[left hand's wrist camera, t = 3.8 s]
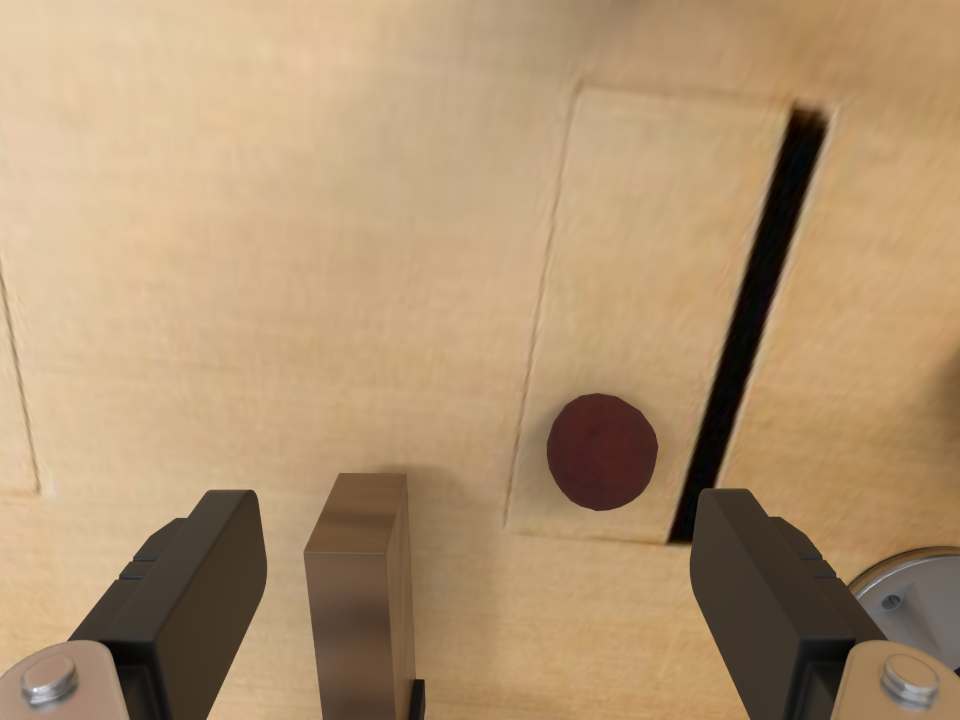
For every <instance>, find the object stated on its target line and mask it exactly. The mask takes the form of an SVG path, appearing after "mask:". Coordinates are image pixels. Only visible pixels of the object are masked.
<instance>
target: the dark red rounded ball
mask: <svg viewBox="0 0 960 720" xmlns="http://www.w3.org/2000/svg"><path fill="white" fill-rule="evenodd" d="M657 451H658V443H657V439H656V434H655V432H654V430H653V428H652V426H651V425H650V424H649V422H648V421H647V419H646V418H645V417H644V415H643V414H642V413H641V411H639V410H638V409H636V408H634V407H633V406H631V405H629V404H628V403H626V402H624V401H623V400H621V399H619V398H618V397H614V396H609V395H604V394H599V393H596V394H590V395H583V396H580V397H578V398H576V399H575V400H573V401H572V402H570V403H568V404H567V405H566V406H565V407H564V409H563V410H562V411H561V413H560V414H559V416H558V417H557V418H556V420H555V421H554V423H553V426H552V429H551V432H550V435H549V438H548V442H547V458H548V463H549V469H550V471H551V473H552V475H553V477H554V479H555V481H556V483H557V485H558V486H559V488H560V489H561V490H562V492H563V493H564V494H565V495H566V496H567V497H568V498H569V499H570V500H571V501H572V502H574V503H576V504H578V505H579V506H582V507H585V508H589V509H593V510H595V511H604V510H611V509H615V508H619V507H621V506H623V505H625V504H627V503H629V502H631V501H633V500H634V499H635V498H636V497H638V496H639V495H640V494H641V493H642V492H643V491H644V489H645V488H646V486H647V485H648V484H649V482H650V479H651V477H652V474H653V471H654V467H655V463H656V457H657Z"/></svg>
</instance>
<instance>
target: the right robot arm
mask: <svg viewBox="0 0 960 720" xmlns="http://www.w3.org/2000/svg"><path fill="white" fill-rule="evenodd" d="M848 589H849V590H850V592H851V593H852V594H853V596H854V597H855V598H856V599H857V601H858V602H859V603H860V604H861V606H862V607H863V608H864V610H865V611H866V612H867V613H868V615H869V616H870V617H871V618H872V620H873V621H874V622H875V624H876V625H877V626H878V627H879V629H880V630H881V631H882V632H883V634H884V635H885V636H886V638H887V639H888V640H889V641H892V642H897V643H901V644H904V645H907V646H910V647H913V648H916V649H918V650H920V651H922V652H925V653H926V654H928V655H930V656H932V657H934V658H935V659H937V660H939V661H940V662H942V663H943V664H945V665H946V666H947V667H948V668H950V669H951V670H952V671H953V672H955V673H956V674H957V675H958V676H959V677H960V548H955V547H933V548H925V549H919V550H915V551H910V552H907V553H904V554H901V555H898V556H895V557H893V558H890V559H888V560H886V561H884V562H882V563H880V564H878V565H877V566H875V567H873V568H872V569H870V570H869V571H867V572H866V573H864V574H863V575H862V576H861V577H859V578H858V579H857V580H856V581H855V582H854V583H853V584H851V585H850V586H849V588H848ZM424 714H425V681H424V679H415V681H414V688H413V694H412V701H411V708H410V714H409V720H424Z"/></svg>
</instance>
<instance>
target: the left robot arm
mask: <svg viewBox="0 0 960 720" xmlns="http://www.w3.org/2000/svg"><path fill="white" fill-rule="evenodd" d="M266 578H267V559H266V552H265V545H264V538H263V531H262V524H261V517H260V510H259V503H258V498H257V495H256V493H255V492H254V491H253V490H209V491H208V492H206V494H205V495H204V496H203V497H202V499H201V500H200V501H199V503H198V504H197V506H196V507H195V508H194V510H193V511H192V512H191V514H190V515H189V516H188V518H176V519H174V520H173V521H171V522H170V523H168V524H167V525H166V526H164V527H163V528H161V529H160V530H158V531H157V532H155V533H154V534H153V535H151V536H150V537H149V538H148V539H147V541H146V542H145V543H144V545H143V546H142V547H141V548H140V550H139V551H138V552H137V553H136V555H135V556H134V557H133V562H129V563H128V565H127V566H126V567H125V569H124V570H123V571H122V572H121V574H120V575H119V580H115V581H114V582H113V584H112V585H111V586H110V587H109V589H108V590H107V591H106V592H105V594H104V595H103V596H102V598H101V599H100V600H99V601H98V603H97V604H96V605H95V606H94V608H93V609H92V610H91V611H90V613H89V614H88V615H87V616H86V618H85V619H84V620H83V622H82V623H81V624H80V625H79V627H78V628H77V629H76V630H75V632H74V633H73V634H72V635H71V637H70V638H69V639H68V640H67V642H63V643H59V644H56V645H53V646H50V647H47V648H44V649H42V650H40V651H38V652H35V653H34V654H32V655H30V656H28V657H26V658H25V659H23V660H21V661H20V662H18V663H17V664H15V665H14V666H13V667H12V668H10V669H9V670H8V671H7V672H5V673H4V674H3V675H2V676H1V677H0V720H206V719H207V717H208V715H209V712H210V710H211V708H212V706H213V704H214V701H215V699H216V697H217V695H218V693H219V690H220V688H221V686H222V684H223V682H224V680H225V677H226V675H227V673H228V671H229V669H230V666H231V664H232V662H233V660H234V658H235V655H236V653H237V651H238V649H239V647H240V644H241V642H242V640H243V638H244V636H245V634H246V631H247V629H248V627H249V625H250V623H251V620H252V618H253V616H254V614H255V612H256V609H257V607H258V605H259V603H260V601H261V598H262V596H263V593H264V589H265V584H266ZM690 578H691V584H692V589H693V592H694V595H695V598H696V600H697V602H698V604H699V607H700V609H701V611H702V613H703V615H704V618H705V620H706V622H707V624H708V627H709V629H710V631H711V633H712V635H713V638H714V640H715V642H716V644H717V646H718V649H719V651H720V653H721V655H722V658H723V660H724V662H725V664H726V666H727V669H728V671H729V673H730V675H731V678H732V680H733V682H734V684H735V686H736V689H737V691H738V693H739V695H740V697H741V700H742V702H743V704H744V706H745V709H746V711H747V713H748V715H749V717H750V720H960V677H959V676H958V675H957V674H956V673H955V672H953V671H952V670H951V669H950V668H948V667H947V666H946V665H945V664H943V663H942V662H940V661H939V660H937V659H935V658H934V657H932V656H930V655H928V654H926V653H925V652H922V651H920V650H918V649H916V648H913V647H910V646H907V645H904V644H901V643H897V642H892V641H889V640H888V639H887V638H886V636H885V635H884V634H883V632H882V631H881V630H880V629H879V627H878V626H877V625H876V624H875V622H874V621H873V620H872V618H871V617H870V616H869V615H868V613H867V612H866V611H865V610H864V608H863V607H862V606H861V604H860V603H859V602H858V601H857V599H856V598H855V597H854V596H853V594H852V593H851V592H850V590H849V589H848V588H847V587H846V585H845V584H844V583H843V581H842V580H841V579H840V578H837V577H836V573H835V571H834V570H833V569H832V567H831V566H830V565H829V564H828V562H827V561H826V560H823V559H822V555H821V553H820V552H819V551H818V550H817V548H816V547H815V546H814V545H813V543H812V542H811V541H810V539H809V538H808V537H807V536H806V535H805V534H804V533H802V532H801V531H800V530H798V529H797V528H795V527H794V526H792V525H791V524H790V523H788V522H787V521H785V520H784V519H782V518H781V517H769V516H768V515H767V514H766V512H765V511H764V510H763V508H762V507H761V505H760V504H759V503H758V501H757V500H756V499H755V497H754V496H753V494H752V493H751V492H750V491H749V490H748V489H703V490H702V491H701V493H700V496H699V500H698V507H697V514H696V521H695V528H694V535H693V542H692V549H691V556H690Z"/></svg>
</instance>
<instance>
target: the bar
mask: <svg viewBox="0 0 960 720" xmlns="http://www.w3.org/2000/svg"><path fill="white" fill-rule="evenodd" d="M304 560H305V569H306V578H307V586H308V595H309V604H310V612H311V621H312V630H313V638H314V647H315V656H316V664H317V673H318V682H319V691H320V699H321V708H322V717H323V720H409V714H410V708H411V701H412V694H413V688H414V681H415V679H416V672H415V650H414V628H413V606H412V584H411V562H410V540H409V518H408V496H407V475H406V474H367V473H339V475H338V477H337V479H336V482H335V484H334V486H333V488H332V490H331V493H330V495H329V497H328V499H327V501H326V504H325V506H324V508H323V510H322V512H321V515H320V517H319V519H318V521H317V523H316V526H315V528H314V530H313V532H312V534H311V537H310V539H309V541H308V543H307V545H306V548H305V550H304Z"/></svg>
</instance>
